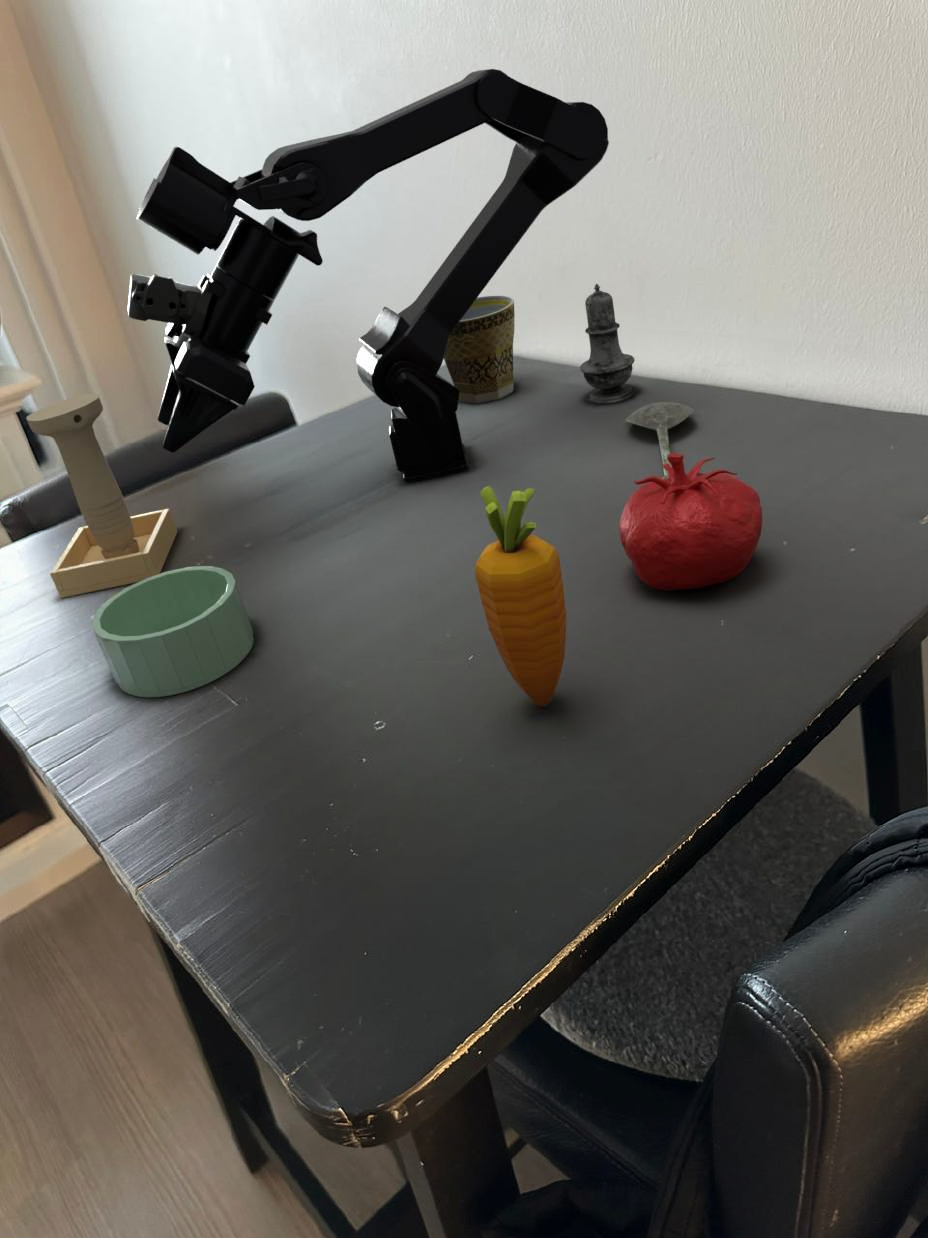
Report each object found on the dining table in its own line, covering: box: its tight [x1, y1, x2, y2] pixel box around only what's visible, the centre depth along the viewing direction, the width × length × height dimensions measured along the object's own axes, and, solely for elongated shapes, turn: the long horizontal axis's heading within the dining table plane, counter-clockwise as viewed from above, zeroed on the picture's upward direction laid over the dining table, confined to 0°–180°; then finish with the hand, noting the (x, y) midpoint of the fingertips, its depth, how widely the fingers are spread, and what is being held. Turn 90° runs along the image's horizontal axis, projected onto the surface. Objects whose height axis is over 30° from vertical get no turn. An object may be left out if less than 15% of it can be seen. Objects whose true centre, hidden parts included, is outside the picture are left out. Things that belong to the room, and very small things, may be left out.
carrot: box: [474, 485, 567, 708], centre depth 61 cm, size 5×5×15 cm
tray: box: [49, 508, 178, 599], centre depth 97 cm, size 9×10×3 cm
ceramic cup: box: [443, 295, 516, 404], centre depth 119 cm, size 13×10×10 cm
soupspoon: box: [625, 401, 695, 479], centre depth 94 cm, size 22×3×7 cm
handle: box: [26, 393, 139, 559], centre depth 94 cm, size 5×6×15 cm
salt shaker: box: [579, 283, 637, 405], centre depth 109 cm, size 6×6×12 cm
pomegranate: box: [618, 452, 763, 592], centre depth 73 cm, size 10×10×9 cm
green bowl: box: [91, 565, 255, 698], centre depth 78 cm, size 11×11×5 cm
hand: (164, 435), depth 94 cm, fingers open, 9 cm apart
